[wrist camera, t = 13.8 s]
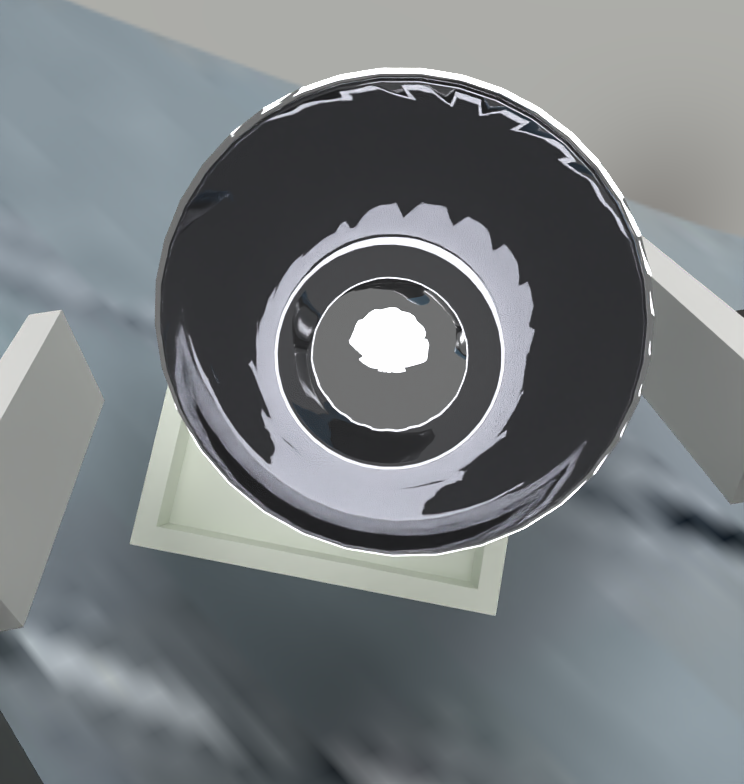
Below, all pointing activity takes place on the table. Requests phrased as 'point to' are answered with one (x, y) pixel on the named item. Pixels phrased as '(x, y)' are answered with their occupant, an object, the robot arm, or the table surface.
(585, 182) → the wine glass
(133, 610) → the table surface
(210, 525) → the white tray
